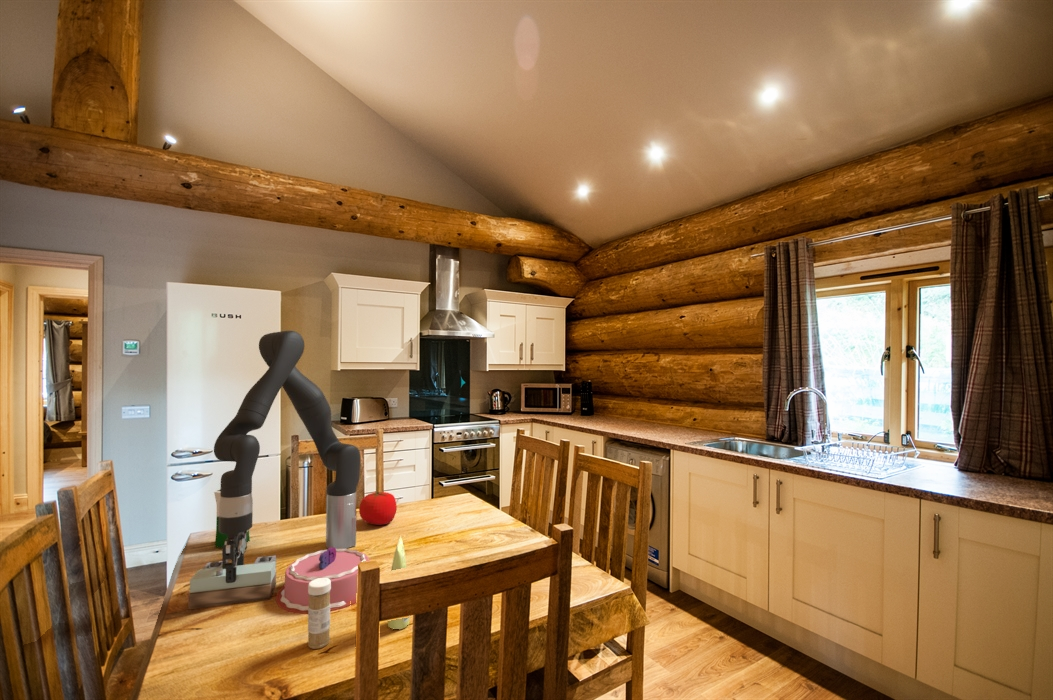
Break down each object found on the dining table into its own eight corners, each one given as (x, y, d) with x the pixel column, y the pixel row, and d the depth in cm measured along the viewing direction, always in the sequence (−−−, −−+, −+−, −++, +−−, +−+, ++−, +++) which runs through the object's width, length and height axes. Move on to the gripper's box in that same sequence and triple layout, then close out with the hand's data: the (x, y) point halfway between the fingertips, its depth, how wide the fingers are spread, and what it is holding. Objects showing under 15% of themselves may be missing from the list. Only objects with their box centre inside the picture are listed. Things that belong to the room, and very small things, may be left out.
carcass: (277, 581, 134) (278, 554, 134) (269, 599, 124) (270, 570, 124) (202, 589, 129) (203, 562, 129) (188, 609, 119) (188, 579, 119)
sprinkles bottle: (324, 635, 109) (325, 575, 109) (333, 643, 106) (334, 581, 106) (303, 643, 105) (304, 581, 106) (312, 652, 102) (313, 588, 102)
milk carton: (231, 538, 165) (232, 479, 165) (254, 540, 163) (255, 480, 163) (209, 548, 156) (210, 485, 156) (233, 550, 154) (235, 487, 155)
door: (278, 566, 135) (278, 551, 135) (270, 583, 125) (271, 567, 125) (204, 574, 130) (204, 559, 130) (189, 593, 120) (190, 576, 120)
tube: (381, 624, 113) (382, 540, 114) (399, 615, 117) (401, 534, 117) (395, 633, 110) (397, 546, 110) (414, 624, 114) (415, 540, 114)
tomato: (402, 518, 186) (403, 488, 186) (384, 531, 173) (385, 498, 173) (372, 515, 189) (373, 485, 189) (352, 527, 176) (353, 495, 176)
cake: (312, 566, 144) (313, 530, 145) (392, 573, 141) (392, 536, 141) (253, 609, 120) (253, 566, 120) (347, 619, 116) (348, 574, 116)
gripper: (245, 519, 120) (244, 586, 120) (258, 502, 134) (257, 562, 133) (210, 522, 118) (209, 591, 117) (227, 504, 131) (226, 566, 131)
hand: (234, 575), depth 125 cm, fingers open, 6 cm apart
